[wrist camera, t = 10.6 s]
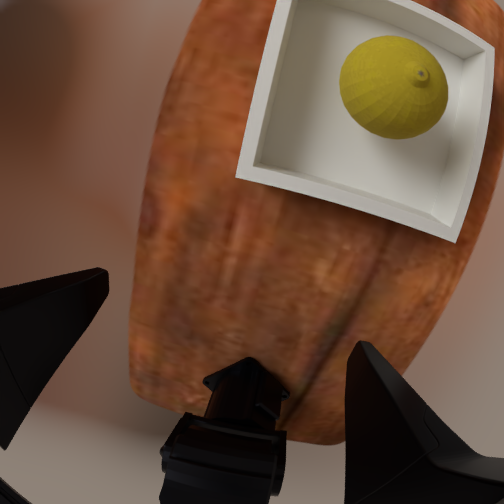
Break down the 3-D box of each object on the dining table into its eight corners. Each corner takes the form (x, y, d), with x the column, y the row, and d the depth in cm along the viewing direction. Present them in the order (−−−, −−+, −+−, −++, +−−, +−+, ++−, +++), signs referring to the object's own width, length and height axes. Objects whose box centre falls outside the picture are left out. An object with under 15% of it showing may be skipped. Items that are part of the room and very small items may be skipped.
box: (431, 224, 18) (455, 243, 15) (247, 170, 19) (235, 177, 15) (467, 58, 13) (494, 47, 9) (289, -7, 14) (286, -34, 10)
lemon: (317, 113, 16) (331, 91, 9) (351, 45, 14) (380, -9, 7) (391, 155, 16) (449, 167, 9) (423, 89, 14) (487, 67, 7)
